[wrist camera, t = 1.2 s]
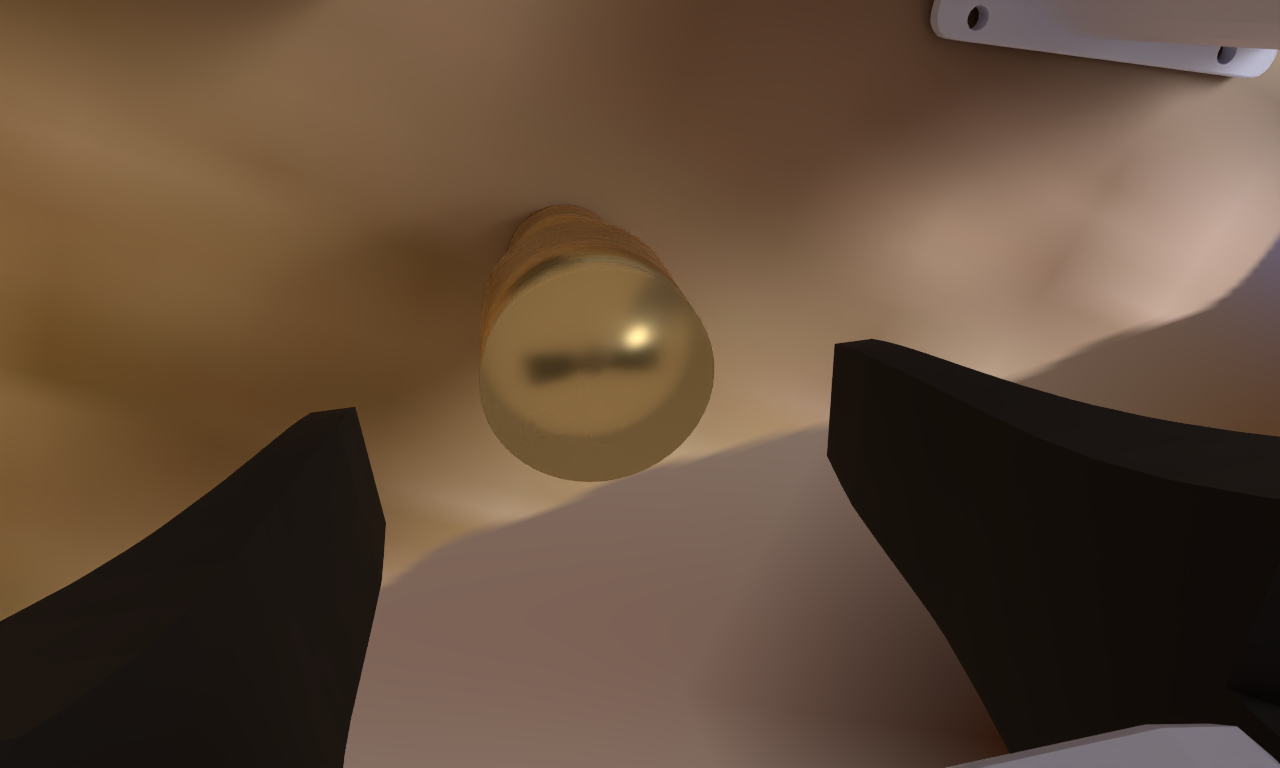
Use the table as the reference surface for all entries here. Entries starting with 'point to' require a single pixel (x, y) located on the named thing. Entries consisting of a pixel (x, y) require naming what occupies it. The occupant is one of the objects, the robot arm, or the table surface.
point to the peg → (589, 350)
